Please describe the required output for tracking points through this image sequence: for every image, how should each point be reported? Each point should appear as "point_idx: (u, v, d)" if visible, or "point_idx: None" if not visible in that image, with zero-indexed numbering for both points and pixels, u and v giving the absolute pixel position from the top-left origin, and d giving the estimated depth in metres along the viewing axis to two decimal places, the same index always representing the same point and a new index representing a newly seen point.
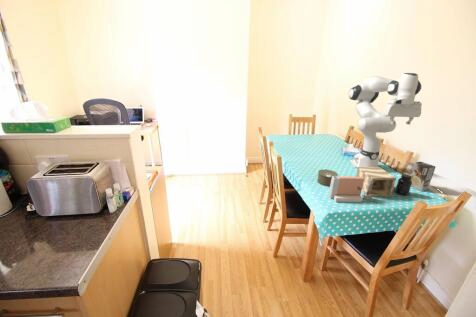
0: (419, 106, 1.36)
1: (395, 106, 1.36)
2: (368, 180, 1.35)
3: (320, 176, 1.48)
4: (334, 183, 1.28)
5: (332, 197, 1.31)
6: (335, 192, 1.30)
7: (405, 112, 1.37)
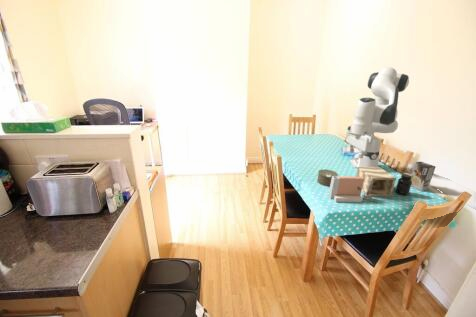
0: (365, 139, 1.12)
1: (349, 132, 1.26)
2: (368, 180, 1.35)
3: (320, 176, 1.48)
4: (334, 183, 1.28)
5: (332, 197, 1.31)
6: (335, 192, 1.30)
7: (355, 142, 1.21)
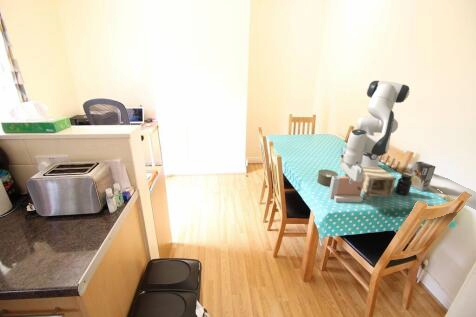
0: (355, 170, 1.18)
1: (342, 160, 1.32)
2: (368, 180, 1.35)
3: (320, 176, 1.48)
4: (334, 183, 1.28)
5: (332, 197, 1.31)
6: (335, 192, 1.30)
7: (347, 170, 1.27)
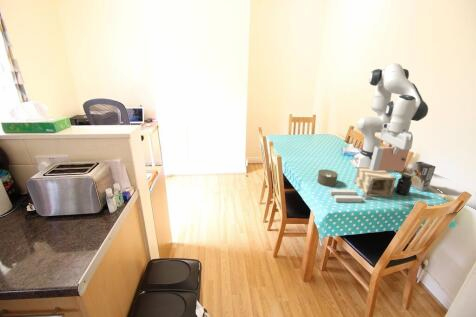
0: (404, 137, 1.12)
1: (385, 130, 1.26)
2: (368, 180, 1.35)
3: (320, 176, 1.48)
4: (377, 153, 1.22)
5: (374, 169, 1.25)
6: (378, 163, 1.24)
7: (392, 140, 1.21)
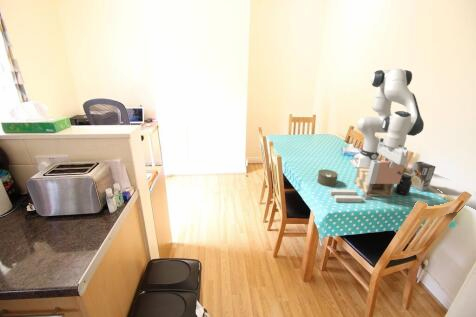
0: (399, 152, 1.15)
1: (381, 144, 1.29)
2: None
3: (320, 176, 1.48)
4: (374, 167, 1.25)
5: (371, 182, 1.28)
6: (374, 177, 1.27)
7: (388, 154, 1.23)
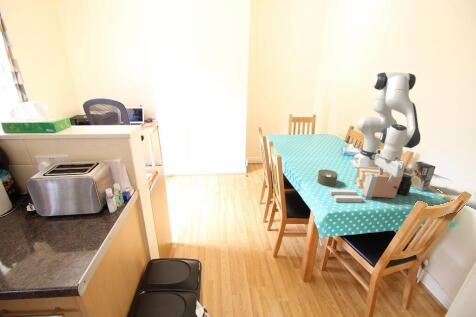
0: (396, 165, 1.17)
1: (378, 155, 1.31)
2: None
3: (320, 176, 1.48)
4: (371, 181, 1.28)
5: (368, 195, 1.31)
6: (371, 190, 1.30)
7: (385, 166, 1.26)
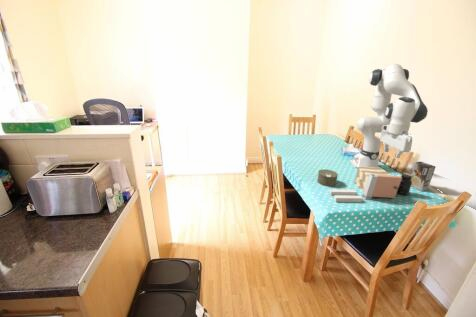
0: (403, 139, 1.13)
1: (384, 132, 1.26)
2: None
3: (320, 176, 1.48)
4: (371, 181, 1.28)
5: (368, 195, 1.31)
6: (371, 190, 1.30)
7: (392, 141, 1.21)
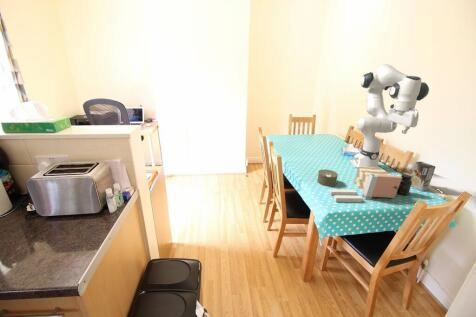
0: (410, 114, 1.20)
1: (391, 110, 1.34)
2: None
3: (320, 176, 1.48)
4: (371, 181, 1.28)
5: (368, 195, 1.31)
6: (371, 190, 1.30)
7: (399, 118, 1.29)
